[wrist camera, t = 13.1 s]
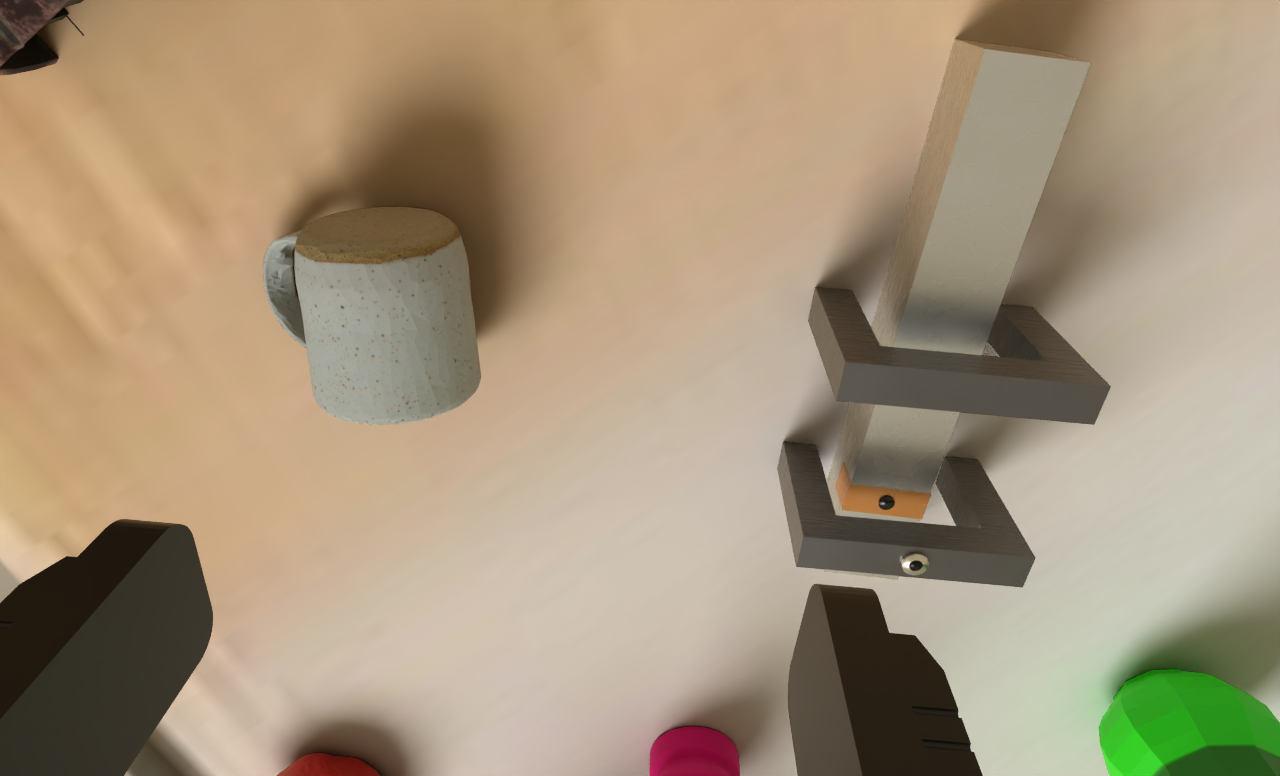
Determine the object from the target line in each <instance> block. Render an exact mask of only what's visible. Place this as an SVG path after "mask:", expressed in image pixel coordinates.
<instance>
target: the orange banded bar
mask: <svg viewBox="0 0 1280 776" xmlns="http://www.w3.org/2000/svg"><path fill="white" fill-rule="evenodd" d="M1090 64H1091V63H1089V62H1086V61H1082V60H1079V59H1075V58H1072V57H1068V56H1065V55H1061V54H1057V53H1054V52H1050V51H1043V50H1035V49H1028V48H1020V47H1012V46H1005V45H997V44H989V43H982V42H974V41H966V40H959V39H955V40H954V43H953V47H952V50H951V54H950V57H949V61H948V64H947V67H946V71H945V74H944V78H943V81H942V85H941V88H940V92H939V95H938V99H937V102H936V105H935V109H934V112H933V116H932V119H931V123H930V126H929V130H928V133H927V137H926V140H925V144H924V147H923V150H922V154H921V157H920V161H919V164H918V168H917V171H916V175H915V178H914V182H913V185H912V188H911V192H910V195H909V199H908V202H907V206H906V209H905V213H904V216H903V220H902V223H901V227H900V230H899V233H898V237H897V240H896V244H895V247H894V251H893V254H892V258H891V261H890V265H889V268H888V271H887V275H886V278H885V282H884V285H883V289H882V292H881V296H880V299H879V303H878V306H877V310H876V313H875V316H874V320H873V323H872V327H871V328H872V330H873V332H874V334H875V336H876V338H877V340H878V342H879V344H880V346H887V347H897V348H908V349H919V350H930V351H941V352H952V353H962V354H973V355H982V353H983V350H984V347H985V345H986V342H987V339H988V337H989V334H990V331H991V328H992V326H993V323H994V320H995V318H996V315H997V312H998V310H999V307H1000V304H1001V302H1002V299H1003V296H1004V294H1005V291H1006V288H1007V286H1008V283H1009V280H1010V278H1011V275H1012V272H1013V270H1014V267H1015V264H1016V262H1017V259H1018V256H1019V254H1020V251H1021V248H1022V246H1023V243H1024V240H1025V238H1026V235H1027V232H1028V230H1029V227H1030V224H1031V222H1032V219H1033V216H1034V214H1035V211H1036V208H1037V205H1038V203H1039V200H1040V197H1041V195H1042V192H1043V189H1044V187H1045V184H1046V181H1047V179H1048V176H1049V173H1050V171H1051V168H1052V165H1053V163H1054V160H1055V157H1056V155H1057V152H1058V149H1059V147H1060V144H1061V141H1062V139H1063V136H1064V133H1065V131H1066V128H1067V125H1068V123H1069V120H1070V117H1071V115H1072V112H1073V109H1074V107H1075V104H1076V101H1077V99H1078V96H1079V93H1080V90H1081V88H1082V85H1083V82H1084V80H1085V77H1086V74H1087V72H1088V69H1089V66H1090ZM959 414H960V412H952V411H941V410H930V409H919V408H908V407H897V406H887V405H876V404H865V403H854V402H850V403H849V406H848V410H847V413H846V417H845V420H844V424H843V427H842V431H841V434H840V437H839V441H838V444H837V448H836V451H835V455H834V458H833V462H832V465H831V469H830V472H829V476H828V479H827V485H828V489H829V492H830V496H831V500H832V503H833V507H834V510H835V514H836V515H838V516H849V517H860V518H871V519H882V520H893V521H904V522H915V523H919V521H920V519H922V517H923V514H924V512H925V509H926V506H927V504H928V501H929V498H930V496H931V494H930V492H931V489H932V486H933V484H934V481H935V478H936V476H937V473H938V470H939V468H940V465H941V462H942V460H943V457H944V454H945V452H946V449H947V446H948V443H949V441H950V438H951V435H952V433H953V430H954V427H955V425H956V422H957V419H958V417H959ZM824 571H828V572H836V573H845V574H854V575H862V576H871V577H879V578H888V579H897V580H898V577H899V576H893V575H882V574H871V573H860V572H849V571H838V570H827V569H824Z"/></svg>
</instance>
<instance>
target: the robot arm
mask: <svg viewBox="0 0 1280 776" xmlns="http://www.w3.org/2000/svg"><path fill="white" fill-rule="evenodd" d="M212 625H213V611H212V606H211V602H210V598H209V595H208V591H207V587H206V583H205V579H204V576H203V572H202V568H201V564H200V560H199V556H198V553H197V549H196V545H195V541H194V538H193V535H192V533H191V531H190V529H189V528H188V527H187V526H185V525H182V524H173V523H162V522H151V521H140V520H129V519H121V520H118V521H115V522H113V523H112V524H110V525H109V526H108V527H107V528H105V529H104V530H103V532H102V533H101V534H100V535H99V536H98V537H97V538H96V539H95V540H94V541H93V542H92V543H91V544H90V545H89V546H88V547H87V548H86V549H85V550H84V551H83V552H82V553H81V554H80V555H79V556H78V557H69V556H66V557H65V558H63V559H61V560H60V561H58V562H56V563H55V564H53V565H51V566H50V567H48V568H46V569H45V570H43V571H41V572H40V573H38V574H36V575H35V576H33V577H31V578H30V579H28V580H26V581H25V582H23V583H21V584H19V585H18V587H16V588H15V589H14V591H12V592H11V593H10V594H9V595H8V596H7V597H6V598H5V599H4V600H3V601H2V602H1V603H0V776H124V774H125V773H126V771H127V770H128V768H129V767H130V765H131V764H132V762H133V761H134V759H135V758H136V757H137V755H138V754H139V752H140V751H141V749H142V748H143V746H144V745H145V743H146V742H147V740H148V739H149V737H150V736H151V734H152V733H153V731H154V730H155V728H156V727H157V725H158V724H159V722H160V721H161V719H162V718H163V716H164V715H165V713H166V712H167V710H168V709H169V707H170V706H171V704H172V703H173V701H174V700H175V698H176V697H177V695H178V694H179V692H180V691H181V689H182V688H183V686H184V685H185V683H186V682H187V680H188V679H189V677H190V676H191V674H192V673H193V671H194V670H195V668H196V667H197V665H198V664H199V662H200V660H201V659H202V657H203V655H204V653H205V651H206V649H207V646H208V643H209V640H210V636H211V632H212ZM788 708H789V718H790V725H791V732H792V739H793V745H794V752H795V759H796V766H797V773H798V776H983V775H982V773H981V770H980V767H979V765H978V762H977V759H976V756H975V754H974V752H971V749H970V744H971V743H970V740H969V737H968V735H967V732H966V729H965V727H964V724H963V721H962V718H959V717H958V708H957V705H956V702H955V699H954V697H953V694H952V691H951V689H950V686H949V683H948V680H947V678H946V675H945V672H944V670H943V669H942V668H941V666H940V665H939V664H938V663H937V662H936V660H935V659H934V658H933V657H932V656H931V654H930V653H929V652H928V651H927V649H926V648H925V647H924V646H923V645H922V643H921V642H920V641H919V640H918V639H917V637H916V636H915V635H905V634H894V633H889V631H888V628H887V624H886V621H885V618H884V615H883V611H882V608H881V605H880V602H879V599H878V596H877V594H876V593H875V591H874V590H872V589H865V588H854V587H843V586H832V585H821V584H814V585H813V586H812V587H811V589H810V592H809V595H808V599H807V603H806V607H805V611H804V614H803V618H802V622H801V626H800V630H799V634H798V638H797V642H796V646H795V649H794V653H793V657H792V661H791V666H790V672H789V682H788Z"/></svg>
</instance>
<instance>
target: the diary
mask: <svg viewBox="0 0 1280 776" xmlns="http://www.w3.org/2000/svg"><path fill="white" fill-rule="evenodd" d="M82 1H83V0H0V75H11V74H17V73H21V72H26V71H31V70H36V69H39V68H42V67H45V66H48V65H52V64H55V63H56V62H57V60H58V58H59V57H58V56H57V55H56V54H55V53H54V52H53V51H52V50H51V49H50V47H49V46H48V45H47V44H46V43H45V42H44V41H43V40H42V39H41V37H40V36H39V35H38V34H37V32H38V31H39V30H40V29H41V28H42V27H43V26H44V25H47V24H50V23H53V22H56V21H59V20H62V19H64V18H65V17H67V18H68V19H69V20H70V21H71V19H70V18H69V17H68V16H67V15H68V14H69V13H68V12H67V11H66V10H65V9H64V8H63V7H66V6H69V5H73V4H77V3H81V2H82ZM71 22H72V21H71ZM72 23H73V22H72ZM73 25H74V26H75V27H76V28H77V29H78V27H77V26H76V25H75V24H74V23H73ZM78 30H79V29H78ZM79 31H80V30H79ZM80 33H81V34H82V35H83V36H84V34H83V33H82V32H81V31H80Z"/></svg>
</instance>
